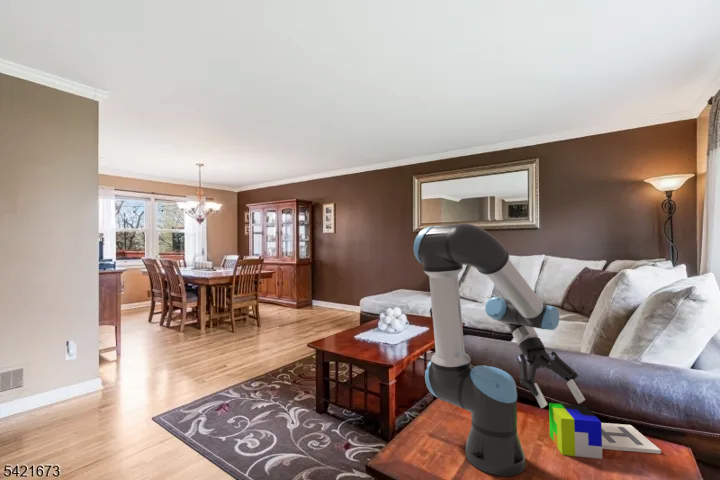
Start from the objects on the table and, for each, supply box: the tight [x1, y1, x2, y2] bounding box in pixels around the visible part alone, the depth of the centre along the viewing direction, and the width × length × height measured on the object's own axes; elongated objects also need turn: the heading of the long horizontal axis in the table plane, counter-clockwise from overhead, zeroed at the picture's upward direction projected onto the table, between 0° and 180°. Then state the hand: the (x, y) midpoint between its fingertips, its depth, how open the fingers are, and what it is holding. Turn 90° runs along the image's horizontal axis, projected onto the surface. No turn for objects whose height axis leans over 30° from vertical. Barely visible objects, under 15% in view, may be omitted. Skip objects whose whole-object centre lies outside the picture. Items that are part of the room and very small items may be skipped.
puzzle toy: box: [548, 402, 603, 460], centre depth 100 cm, size 10×10×10 cm
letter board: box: [601, 422, 662, 455], centre depth 104 cm, size 15×14×1 cm
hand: (563, 404), depth 105 cm, fingers open, 13 cm apart
